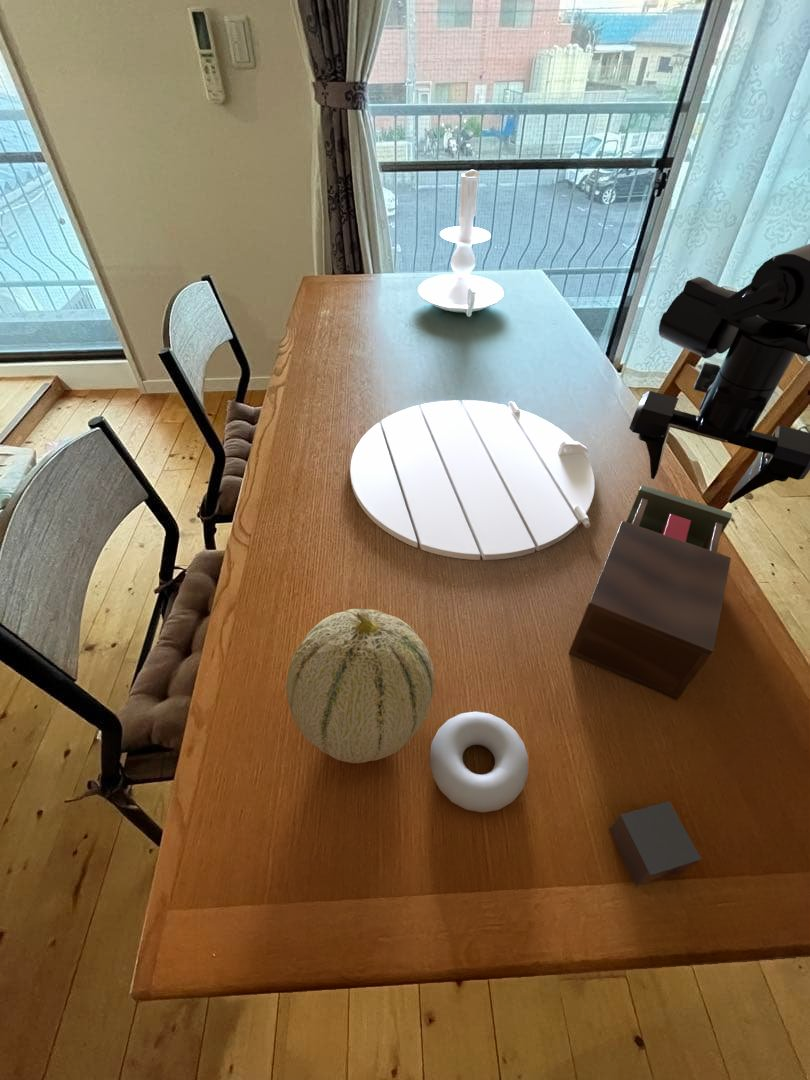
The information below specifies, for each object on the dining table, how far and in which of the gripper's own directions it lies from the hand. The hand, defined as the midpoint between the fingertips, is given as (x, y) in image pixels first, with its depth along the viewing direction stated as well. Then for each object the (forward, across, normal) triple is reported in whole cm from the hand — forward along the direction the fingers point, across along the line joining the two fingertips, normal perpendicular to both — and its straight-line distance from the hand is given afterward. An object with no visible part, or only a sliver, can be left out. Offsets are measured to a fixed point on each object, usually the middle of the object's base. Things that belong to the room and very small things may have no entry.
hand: (690, 488), depth 69 cm
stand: (+12, -6, +40) cm, 42 cm away
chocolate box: (+10, 0, +4) cm, 11 cm away
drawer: (+11, 0, +3) cm, 12 cm away
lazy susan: (+13, +30, -4) cm, 33 cm away
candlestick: (+13, +58, -60) cm, 85 cm away
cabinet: (+12, 0, +15) cm, 19 cm away
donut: (+12, +10, +40) cm, 43 cm away
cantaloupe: (+12, +24, +41) cm, 49 cm away
